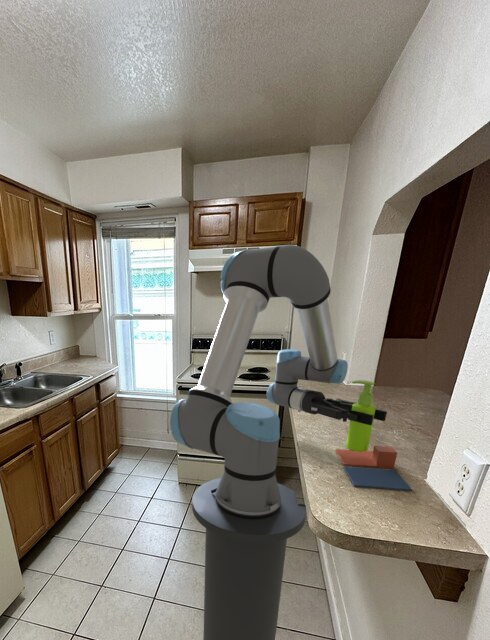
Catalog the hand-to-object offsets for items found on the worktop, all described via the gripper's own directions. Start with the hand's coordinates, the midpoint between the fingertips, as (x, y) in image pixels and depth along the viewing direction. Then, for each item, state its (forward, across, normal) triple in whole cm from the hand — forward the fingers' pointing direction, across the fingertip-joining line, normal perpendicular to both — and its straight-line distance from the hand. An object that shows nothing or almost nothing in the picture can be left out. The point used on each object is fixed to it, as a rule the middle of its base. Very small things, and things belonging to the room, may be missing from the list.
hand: (378, 418), depth 98 cm
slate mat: (+6, +8, -14) cm, 17 cm away
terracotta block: (+3, -2, -13) cm, 14 cm away
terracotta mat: (-3, -1, -14) cm, 14 cm away
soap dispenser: (-5, 0, -11) cm, 12 cm away
